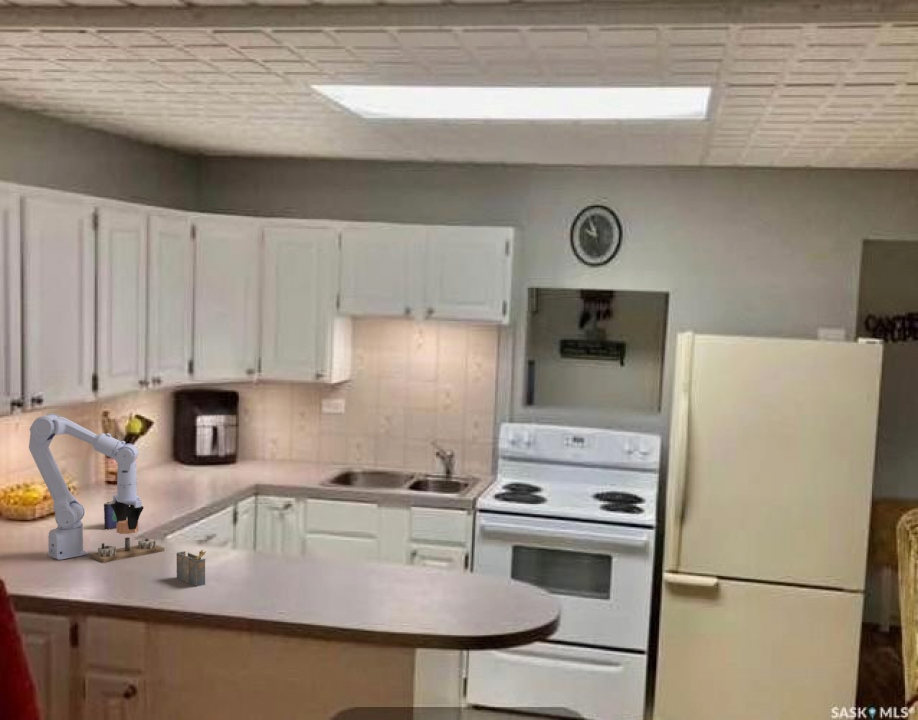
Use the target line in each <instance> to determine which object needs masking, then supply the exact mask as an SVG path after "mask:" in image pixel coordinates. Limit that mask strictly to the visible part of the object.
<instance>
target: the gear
mask: <svg viewBox="0 0 918 720" xmlns="http://www.w3.org/2000/svg"><path fill="white" fill-rule="evenodd" d="M138 532H139V522H138V523H137V527H136V529H132V530H129V528H128V520H125V521H118V523H117V528H116V533H117V534H119V535H122V534H123V535H124V534H126V535H130V534H135V533H138Z"/></svg>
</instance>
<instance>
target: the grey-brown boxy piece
mask: <svg viewBox="0 0 918 720" xmlns="http://www.w3.org/2000/svg"><path fill="white" fill-rule="evenodd" d="M206 553H207V551H204V550H203V549H201V550H200V551H199V553H198V555H196V554H194V553H191V552H187V555H186V550H185V551H179V552H176V579H178V580H180V581H183V582H185V583H187V584H189V585H192V586H194V587H202V586H205V585H206V558H202V557H203V556H204V555H206Z"/></svg>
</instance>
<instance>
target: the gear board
mask: <svg viewBox="0 0 918 720" xmlns="http://www.w3.org/2000/svg"><path fill="white" fill-rule="evenodd" d="M156 541H157V540H156V539H151V538H145V539H143V538H142V539H141V540H138V541H137V542H138V543H137V545H135V544H134V545H130V544H131V538H130V537H124V547H120V548H117V547H116V546H112V545H105V543H103V542H102V543H101V547H98V549H97V552H93V553H89V558H91V559H92V560H96V561H98V562H101V563H107V562H108V563H109V562H114V561H119V560H125V559H129V558H134V557H140V556H145V555H150V553H151V554H155V553H161V552H164V551H165V547H163V546H160V545H158V544H157V542H156ZM160 551H161V552H160Z"/></svg>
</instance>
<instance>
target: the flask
mask: <svg viewBox="0 0 918 720" xmlns="http://www.w3.org/2000/svg"><path fill="white" fill-rule="evenodd" d="M115 502H116V501H113V500H110V501H107V502H105V503H104V504H103V516H104V517H103V519H104V529H107V530H106V531H108V530H109V529H110V530H113V529H114V528H115V529H117V523H118V522H117V518H116V515H115V512H114V510H113V508H112V507H111V504H113V503H115ZM115 529H114V530H115ZM110 530H109V531H110Z"/></svg>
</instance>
